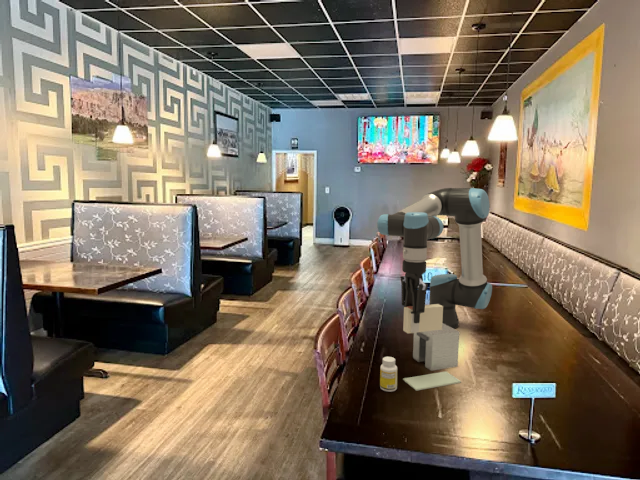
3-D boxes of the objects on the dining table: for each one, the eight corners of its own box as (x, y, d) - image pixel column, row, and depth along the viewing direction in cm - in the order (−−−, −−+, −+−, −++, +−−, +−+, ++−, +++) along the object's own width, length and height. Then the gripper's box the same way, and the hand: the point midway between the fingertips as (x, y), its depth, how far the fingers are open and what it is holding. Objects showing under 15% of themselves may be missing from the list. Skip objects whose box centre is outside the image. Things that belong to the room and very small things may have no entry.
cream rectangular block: (437, 326, 151) (438, 303, 150) (442, 329, 148) (443, 305, 147) (403, 330, 147) (404, 306, 146) (407, 333, 144) (408, 309, 143)
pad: (446, 372, 153) (446, 371, 153) (460, 382, 146) (460, 381, 146) (403, 379, 148) (403, 378, 148) (416, 390, 140) (416, 389, 140)
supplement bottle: (385, 382, 146) (386, 354, 144) (400, 387, 142) (401, 358, 141) (376, 388, 141) (377, 359, 140) (391, 393, 138) (392, 363, 137)
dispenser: (437, 354, 170) (439, 321, 168) (457, 366, 159) (459, 331, 157) (411, 358, 166) (412, 324, 164) (429, 371, 155) (431, 335, 153)
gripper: (392, 256, 149) (390, 323, 153) (417, 265, 134) (414, 339, 137) (411, 255, 152) (409, 321, 155) (438, 264, 137) (435, 337, 140)
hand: (411, 330), depth 146 cm, fingers closed on cream rectangular block, 3 cm apart
